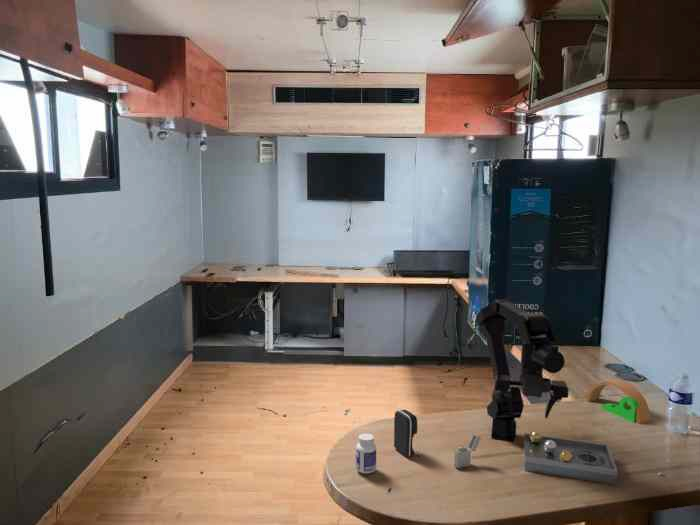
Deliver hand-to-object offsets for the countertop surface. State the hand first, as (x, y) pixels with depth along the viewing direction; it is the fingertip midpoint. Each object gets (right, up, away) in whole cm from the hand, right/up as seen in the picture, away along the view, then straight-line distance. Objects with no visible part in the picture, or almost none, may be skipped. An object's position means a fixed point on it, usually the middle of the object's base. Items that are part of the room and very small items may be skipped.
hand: (528, 415), depth 145 cm
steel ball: (+6, -8, -1) cm, 10 cm away
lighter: (-18, -12, -3) cm, 22 cm away
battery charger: (-33, -11, +4) cm, 35 cm away
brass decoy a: (+4, -7, +5) cm, 9 cm away
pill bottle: (-45, -12, -6) cm, 47 cm away
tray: (+10, -13, -2) cm, 16 cm away
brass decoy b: (+7, -9, -7) cm, 13 cm away
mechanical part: (+42, -9, +31) cm, 53 cm away
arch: (+41, -8, +33) cm, 53 cm away
